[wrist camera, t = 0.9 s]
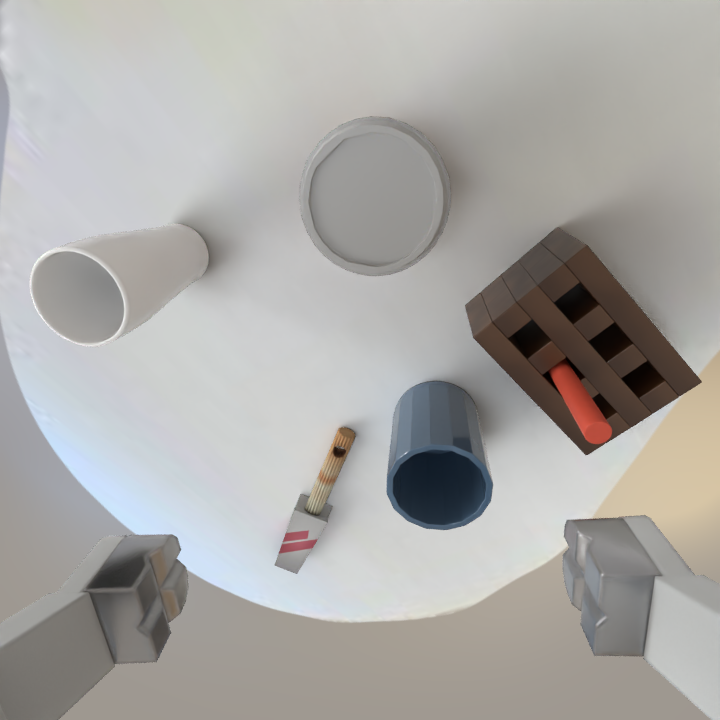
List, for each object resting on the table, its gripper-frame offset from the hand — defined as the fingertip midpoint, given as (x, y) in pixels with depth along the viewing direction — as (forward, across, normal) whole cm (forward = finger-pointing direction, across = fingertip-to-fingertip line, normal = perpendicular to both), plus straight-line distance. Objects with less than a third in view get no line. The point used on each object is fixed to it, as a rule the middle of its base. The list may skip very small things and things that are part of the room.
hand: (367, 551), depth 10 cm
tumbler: (+36, -4, +15) cm, 39 cm away
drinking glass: (+36, +18, -3) cm, 41 cm away
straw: (+35, -14, +7) cm, 38 cm away
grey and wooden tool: (+37, +9, +25) cm, 46 cm away
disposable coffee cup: (+35, -1, -7) cm, 36 cm away
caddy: (+34, -15, +6) cm, 38 cm away
